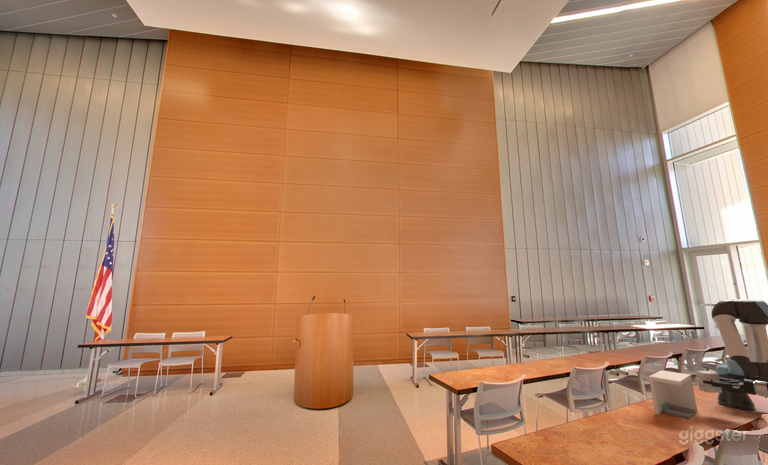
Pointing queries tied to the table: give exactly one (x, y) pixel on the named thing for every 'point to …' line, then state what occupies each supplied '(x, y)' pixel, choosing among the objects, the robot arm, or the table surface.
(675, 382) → the cabinet
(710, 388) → the small box
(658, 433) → the table surface
